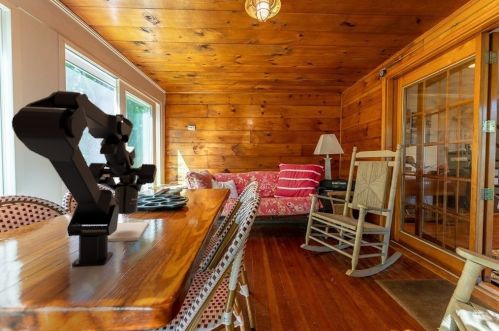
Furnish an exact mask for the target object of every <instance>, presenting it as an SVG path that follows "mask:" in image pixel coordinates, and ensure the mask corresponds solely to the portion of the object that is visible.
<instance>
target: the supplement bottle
mask: <svg viewBox="0 0 499 331" xmlns="http://www.w3.org/2000/svg"><path fill="white" fill-rule="evenodd" d="M118 180H119V181H118V182H117V183H116V185H115V191H114V194H113V197H114V198H115V202H116V204H117V205H118V207H119V215H132V214H135V213H137V211H138V205H139V202H138V201H139V191H138V190H137V187H136V180H137V176H134V175H129V176H128V178H118Z"/></svg>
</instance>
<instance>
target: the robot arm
mask: <svg viewBox="0 0 499 331" xmlns="http://www.w3.org/2000/svg"><path fill="white" fill-rule="evenodd" d="M124 116H125V115H124V114H121V113H120V114H119V113H116V114H111V113H110V114H109V113H106V112H105V111H103V110H102V109H101V108H100V107H99V106H97V105H96V103H94V102H92V101H91V100H90V99H89V97H88V95H87V94H86V93H83V92H81V91H73V90H57V91H53V92H52V93H51V94H49V96H46V97H44V98H41V99H38V100H35V101H32V102H29V103H27V104H26V105H25V106H22V107H21V108H20V109H19V110H18V111H17V113H15V114H14V115H13V117H12V119H11V127H12V131H13V132H14V135H15V136H16V137H17V138H18V141H20V142H21V143H22V144H23V145H24V146H25V147H26V148H27V149H28V150H29V151H31V152H33V153H35V154H37V155H40V156H41V157H43V158H45V159H46V160H48V161H49V163H50V164H51V166H52V167H53V169H54V170H55V171H56V174H57V175H58V176H59V178H60V180H61V181H62V182H63V184H64V185H65V188H66V190H68V192H69V193H70V195H71V196H72V198H73V200H74V201H75V203H76V205H75V208H74V210H73V214H72V216H71V219H70V221H69V223H68V225H67V228H66V229H67V234H68V237H72V236H73V237H76V236H77V237H78V258H76V259H75V260H74V261H73V262H72V263H71V266H72V267H78V266H79V267H81V266H82V267H83V266H98V265H99V266H100V265H105V264H106V263H107V262H108V261H109V260H110V258H111V257H112V256H113V252H111V251H109V241H108V236H110V235H111V234H112V233H114V232H115V231H116V230H117V223H119V215H120V214H119V207H118V205H117V204H116V202H115V198H114V194H113V192H112V191H114V192H115V185H116V184H117V183H116V181H115V178H117V179H119V178H128V176H129V175H134V176H136V181H135V183H136V187H137V190H138V193H140V192H141V190H142V187H143V185H144V186H145V185H146V184H153V183H155V178H156V175H157V165H156V164H155V163H151V164H150V163H141V165H140V166H138V167H132V166H134V165H135V161H134V159H135V158H136V151H135V150H136V149H135V146H126V143H127V144H128V143H129V140H130V137H131V136H132V131H133V128H134V124H133V123H132V121H131V120H130V119H128V118H126V117H124ZM87 128H88V130H87V131H88V132H87V133H88V134H89V135H90V136H91V137H92V138H94V139H99V140H101V139H102V140H101V141H100V144H99V145H100V149H99V154H100V155H104V158H105V161H106V163H105V162H90V163H89V165H88V163H87V160H86V159H85V157H84V155H83V153H82V151H81V149H80V146H79V144H80V142H81V140H82V137H83V134H84V131H85V130H86V129H87ZM99 185H101V186H103V187H105V188H107V189H100V188H99V187H100V186H99Z"/></svg>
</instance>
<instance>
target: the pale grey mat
mask: <svg viewBox="0 0 499 331" xmlns="http://www.w3.org/2000/svg"><path fill="white" fill-rule="evenodd" d="M149 223H150V222H149V221H148V222H147V221H143V222H139V221H138V222H118V223H117V230H116V231H115V232H114V233H112V234H111V235H110V236H108V242H124V241H125V242H128V241H140V239H141V237H142V236H143V234H144V233H145V231H146V229H147V228H148V226H149V225H150V224H149Z"/></svg>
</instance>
